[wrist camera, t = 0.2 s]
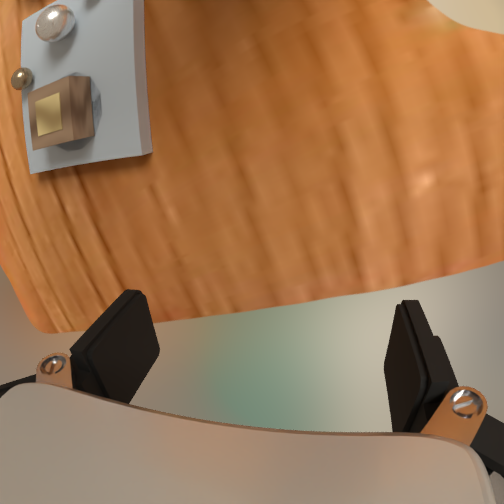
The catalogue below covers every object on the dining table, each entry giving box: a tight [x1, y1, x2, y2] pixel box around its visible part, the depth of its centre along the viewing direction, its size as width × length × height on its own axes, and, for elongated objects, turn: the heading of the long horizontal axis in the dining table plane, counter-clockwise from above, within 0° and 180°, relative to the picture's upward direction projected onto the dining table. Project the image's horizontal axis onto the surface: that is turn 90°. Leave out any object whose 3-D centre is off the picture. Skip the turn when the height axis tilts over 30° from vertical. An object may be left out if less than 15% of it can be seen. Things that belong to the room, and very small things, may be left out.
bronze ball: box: [11, 67, 33, 90], centre depth 35 cm, size 4×4×4 cm
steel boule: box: [35, 4, 75, 43], centre depth 29 cm, size 6×6×6 cm
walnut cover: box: [28, 76, 95, 151], centre depth 35 cm, size 9×9×5 cm
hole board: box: [21, 0, 153, 174], centre depth 37 cm, size 28×23×3 cm
